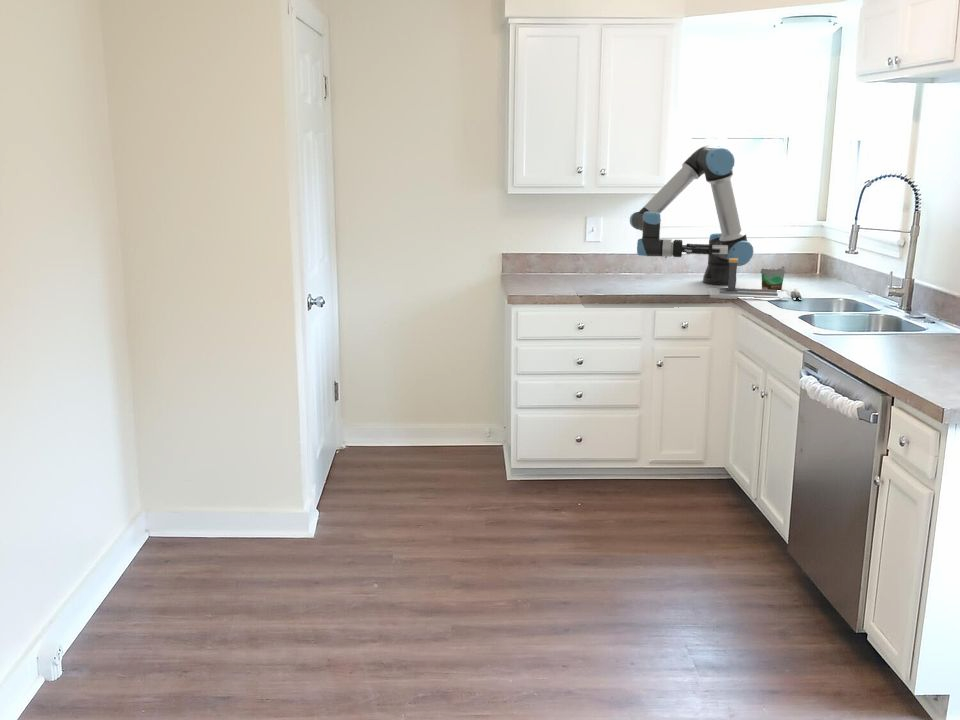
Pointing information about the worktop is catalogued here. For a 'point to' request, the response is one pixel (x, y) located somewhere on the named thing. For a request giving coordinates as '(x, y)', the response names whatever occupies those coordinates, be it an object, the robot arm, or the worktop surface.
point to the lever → (732, 275)
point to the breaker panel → (746, 293)
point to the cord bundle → (795, 294)
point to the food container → (772, 278)
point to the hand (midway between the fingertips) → (727, 249)
